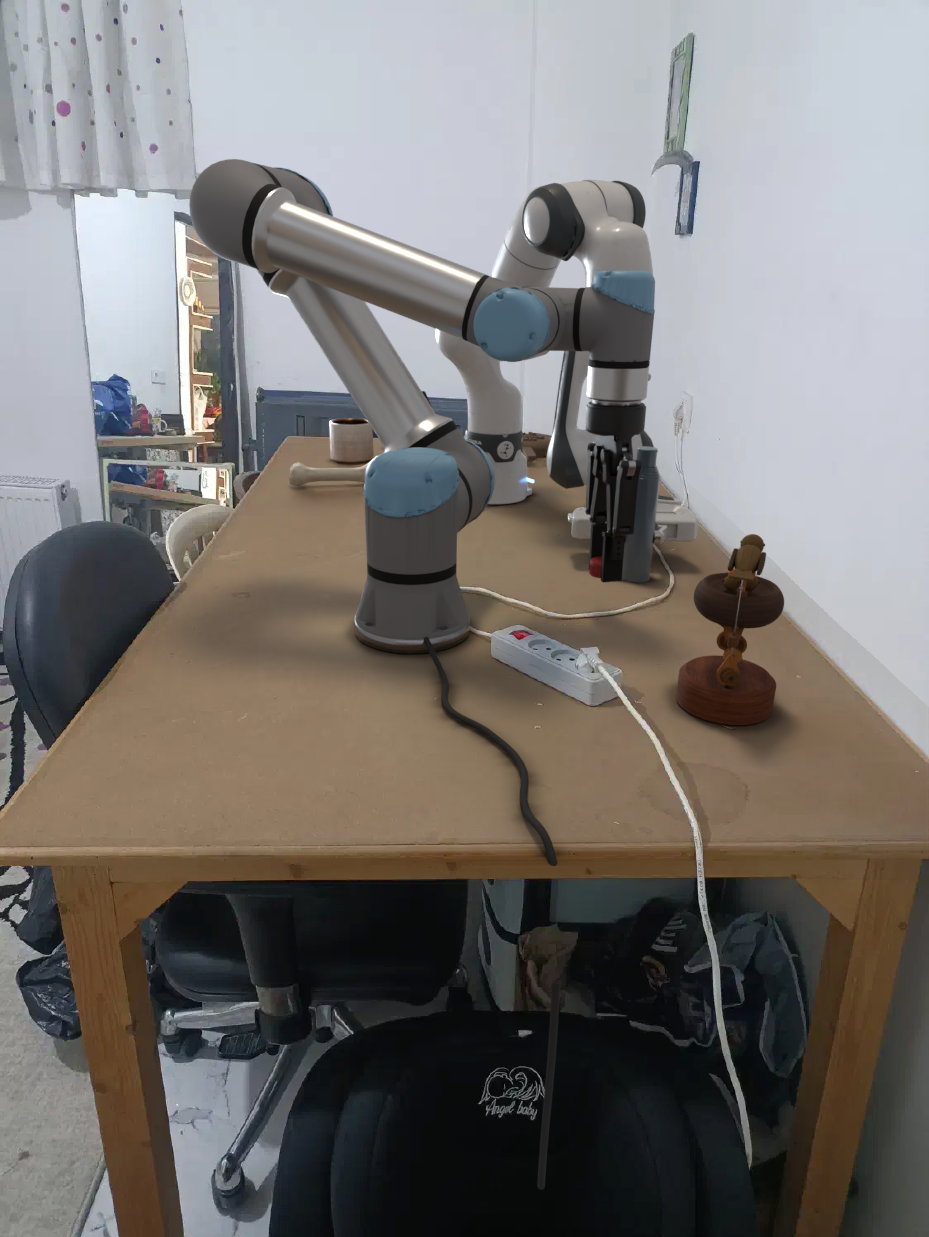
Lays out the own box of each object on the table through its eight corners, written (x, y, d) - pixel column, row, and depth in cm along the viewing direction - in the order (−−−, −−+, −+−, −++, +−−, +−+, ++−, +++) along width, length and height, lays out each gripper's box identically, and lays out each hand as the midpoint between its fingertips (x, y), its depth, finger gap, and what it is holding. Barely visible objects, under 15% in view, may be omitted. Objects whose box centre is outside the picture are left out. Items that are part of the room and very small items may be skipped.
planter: (327, 456, 217) (325, 418, 214) (369, 454, 220) (368, 417, 217) (334, 465, 208) (332, 425, 204) (377, 463, 211) (376, 424, 207)
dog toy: (379, 480, 193) (379, 459, 191) (381, 487, 187) (381, 464, 185) (289, 482, 190) (288, 460, 188) (289, 489, 184) (287, 466, 182)
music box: (791, 736, 88) (807, 553, 81) (683, 736, 90) (689, 557, 82) (760, 672, 102) (771, 512, 95) (667, 673, 104) (671, 515, 96)
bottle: (629, 571, 138) (641, 444, 130) (654, 577, 135) (668, 448, 127) (614, 577, 134) (625, 448, 126) (639, 584, 132) (653, 452, 124)
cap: (584, 570, 118) (585, 557, 117) (613, 567, 119) (614, 554, 118) (596, 580, 114) (597, 566, 113) (626, 577, 115) (627, 564, 114)
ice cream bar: (489, 466, 209) (490, 449, 208) (482, 444, 235) (482, 429, 234) (574, 466, 210) (575, 449, 209) (557, 445, 236) (558, 430, 234)
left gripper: (673, 410, 100) (655, 594, 109) (619, 392, 116) (608, 554, 125) (613, 412, 99) (600, 598, 108) (567, 393, 115) (559, 557, 123)
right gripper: (567, 495, 143) (574, 517, 130) (689, 498, 142) (707, 520, 130) (565, 531, 145) (571, 556, 133) (684, 534, 145) (702, 559, 132)
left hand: (604, 574), depth 116 cm, fingers closed on cap, 4 cm apart
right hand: (639, 538), depth 131 cm, fingers closed on bottle, 4 cm apart
